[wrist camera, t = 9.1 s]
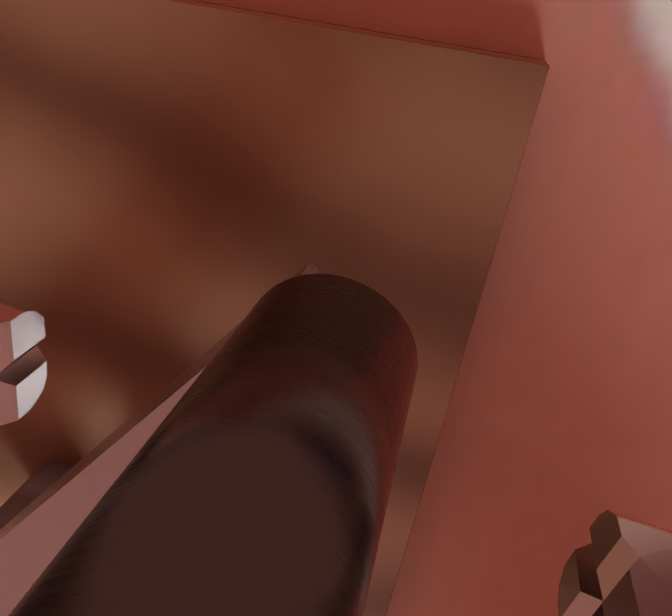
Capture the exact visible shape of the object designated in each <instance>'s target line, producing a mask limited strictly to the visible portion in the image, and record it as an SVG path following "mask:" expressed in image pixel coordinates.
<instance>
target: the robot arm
mask: <svg viewBox="0 0 672 616" xmlns="http://www.w3.org/2000/svg"><path fill="white" fill-rule="evenodd" d="M45 337H46V335H45V325H44V317H43V316H41V315H40V314H39V313H38V312H36V311H35V310H32V309H29V308H27V307H24V306H21V305H19V304H16V303H13V302H11V301H8V300H5V299H3V298H0V426H1V425H4V424H7V423H11V422H14V421H17V420H19V419H20V418H21V417H22V416H23V415H25V414H26V413H27V412H28V411H29V410H30V409H31V408H32V407H33V406H34V404H35V402H36V401H37V399H38V397H39V396H40V394H41V392H42V391H43V389H44V385H45V381H46V377H47V361H46V359H45V358H44V356H43V354H42V353H41V351H40V350H39V348H38V347H37V345H38V344H39V343H40V342H41V341H42V340H43V339H44V338H45ZM590 533H591V539H592V544H589V545H586V546H583V547H580V548H578V549H575V550H574V552H573V553H572V555H571V557H570V558H569V560H568V561H567V563H566V565H565V567H564V570H563V574H562V577H561V581H560V584H559V594H558V610H559V616H672V531H669V530H666V529H663V528H660V527H657V526H654V525H651V524H648V523H645V522H642V521H639V520H636V519H634V518H631V517H628V516H625V515H622V514H619V513H616V512H613V511H610V510H607V511H605V512H603V513H602V514H600V515H599V516H598V517H597V519H596V520H595V521H594V523H593V524H592V526H591V527H590Z"/></svg>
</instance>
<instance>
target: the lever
mask: <svg viewBox="0 0 672 616" xmlns="http://www.w3.org/2000/svg"><path fill="white" fill-rule="evenodd" d="M417 367H418V355H417V348H416V344H415V341H414V337H413V335H412V333H411V330H410V328H409V326H408V324H407V323H406V321H405V320H404V318H403V316H402V315H401V314H400V313H399V311H398V310H397V309H396V308H395V307H394V306H393V305H392V304H391V303H390V302H389V301H388V300H387V299H386V298H385V297H383V296H382V295H380V294H379V293H378V292H376V291H375V290H373V289H371V288H370V287H368V286H366V285H364V284H362V283H360V282H357V281H355V280H352V279H349V278H346V277H342V276H337V275H331V274H321V273H320V272H319V271H318V270H317V268H316V267H315V266H314V265H313V264H312V263H311V262H310V263H308V264H307V265H306V266H305V267H304V268H303V269H301V270H300V271H299V272H298V273H297V274H296V275H295V276H293V277H292V278H290V279H287V280H285V281H283V282H281V283H279V284H277V285H275V286H274V287H272V288H271V289H270V290H268V291H267V292H266V293H265V294H264V295H263V296H262V297H261V298H260V299H259V301H258V302H257V303H256V305H255V306H254V307H253V308H252V310H251V311H250V312H249V313H248V315H247V316H246V317H245V318H244V320H242V321H241V322H240V323H239V324H238V325H237V326H235V327H234V328H233V329H232V330H231V331H230V332H228V333H227V334H226V335H225V336H224V337H223V338H222V339H220V340H219V341H218V342H217V343H216V344H215V345H213V346H212V347H211V348H210V349H209V350H208V351H206V352H205V353H204V354H203V355H202V356H201V357H199V358H198V359H197V360H196V361H195V362H194V363H193V364H191V365H190V366H189V367H188V368H187V369H186V370H184V371H183V372H182V373H181V374H180V375H179V376H177V377H176V378H175V379H174V380H173V381H172V382H171V383H169V384H168V385H167V386H166V387H165V388H164V389H162V390H161V391H160V392H159V393H158V394H157V395H155V396H154V397H153V398H152V399H151V400H150V401H149V402H147V403H146V404H145V405H144V406H143V407H142V408H140V409H139V410H138V411H137V412H136V413H135V414H133V415H132V416H131V417H130V418H129V419H128V420H126V421H125V422H124V423H123V424H122V425H121V426H120V427H118V428H117V429H116V430H115V431H114V432H113V433H111V434H110V435H109V436H108V437H107V438H106V439H104V440H103V441H102V442H101V443H100V444H99V445H98V446H96V447H95V448H94V449H93V450H92V451H91V452H89V453H88V454H87V455H86V456H85V457H84V458H82V459H81V460H80V461H79V462H78V463H77V464H75V465H74V466H73V467H72V468H71V469H70V470H69V471H67V472H66V473H65V474H64V475H63V476H62V477H60V478H59V479H58V480H57V481H56V482H55V483H53V484H52V485H51V486H50V487H49V488H48V489H47V490H45V491H44V492H43V493H42V494H41V495H40V496H38V497H37V498H36V499H35V500H34V501H33V502H31V503H30V504H29V505H28V506H27V507H26V508H24V509H23V510H22V511H21V512H20V513H19V514H18V515H16V516H15V517H14V518H13V519H12V520H11V521H9V522H8V523H7V524H6V525H5V526H4V527H2V528H1V529H0V616H363V612H364V608H365V603H366V599H367V594H368V590H369V585H370V581H371V576H372V572H373V567H374V563H375V558H376V554H377V549H378V545H379V540H380V536H381V532H382V527H383V523H384V518H385V514H386V509H387V505H388V500H389V496H390V491H391V487H392V482H393V478H394V473H395V469H396V464H397V460H398V455H399V451H400V446H401V442H402V437H403V433H404V428H405V424H406V419H407V415H408V410H409V406H410V401H411V397H412V392H413V388H414V383H415V379H416V373H417Z"/></svg>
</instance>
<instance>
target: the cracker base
mask: <svg viewBox="0 0 672 616" xmlns="http://www.w3.org/2000/svg"><path fill="white" fill-rule="evenodd" d="M548 69H549V65H548V64H547V62H546V61H544V60H538V59H532V58H526V57H520V56H515V55H509V54H503V53H497V52H491V51H485V50H479V49H474V48H468V47H462V46H456V45H450V44H444V43H438V42H433V41H427V40H421V39H415V38H409V37H403V36H397V35H392V34H386V33H380V32H374V31H368V30H362V29H356V28H351V27H345V26H339V25H333V24H327V23H321V22H316V21H310V20H304V19H298V18H292V17H286V16H280V15H275V14H269V13H263V12H257V11H251V10H245V9H239V8H234V7H228V6H222V5H216V4H210V3H204V2H198V1H193V0H0V298H3V299H5V300H8V301H11V302H13V303H16V304H19V305H21V306H24V307H27V308H29V309H32V310H35V311H36V312H38V313H39V314H40V315H41V316H43V317H44V325H45V335H46V337H45V338H44V339H43V340H42V341H41V342H40V343H39V344H38V345H37V347H38V348H39V350H40V351H41V353H42V354H43V356H44V358H45V359H46V361H47V377H46V381H45V385H44V389H43V391H42V392H41V394H40V396H39V397H38V399H37V401H36V402H35V404H34V406H33V407H32V408H31V409H30V410H29V411H28V412H27V413H26V414H25V415H23V416H22V417H21V418H20V419H19V420H17V421H14V422H11V423H7V424H4V425H1V426H0V529H1V528H2V527H4V526H5V525H6V524H7V523H8V522H9V521H11V520H12V519H13V518H14V517H15V516H16V515H18V514H19V513H20V512H21V511H22V510H23V509H24V508H26V507H27V506H28V505H29V504H30V503H31V502H33V501H34V500H35V499H36V498H37V497H38V496H40V495H41V494H42V493H43V492H44V491H45V490H47V489H48V488H49V487H50V486H51V485H52V484H53V483H55V482H56V481H57V480H58V479H59V478H60V477H62V476H63V475H64V474H65V473H66V472H67V471H69V470H70V469H71V468H72V467H73V466H74V465H75V464H77V463H78V462H79V461H80V460H81V459H82V458H84V457H85V456H86V455H87V454H88V453H89V452H91V451H92V450H93V449H94V448H95V447H96V446H98V445H99V444H100V443H101V442H102V441H103V440H104V439H106V438H107V437H108V436H109V435H110V434H111V433H113V432H114V431H115V430H116V429H117V428H118V427H120V426H121V425H122V424H123V423H124V422H125V421H126V420H128V419H129V418H130V417H131V416H132V415H133V414H135V413H136V412H137V411H138V410H139V409H140V408H142V407H143V406H144V405H145V404H146V403H147V402H149V401H150V400H151V399H152V398H153V397H154V396H155V395H157V394H158V393H159V392H160V391H161V390H162V389H164V388H165V387H166V386H167V385H168V384H169V383H171V382H172V381H173V380H174V379H175V378H176V377H177V376H179V375H180V374H181V373H182V372H183V371H184V370H186V369H187V368H188V367H189V366H190V365H191V364H193V363H194V362H195V361H196V360H197V359H198V358H199V357H201V356H202V355H203V354H204V353H205V352H206V351H208V350H209V349H210V348H211V347H212V346H213V345H215V344H216V343H217V342H218V341H219V340H220V339H222V338H223V337H224V336H225V335H226V334H227V333H228V332H230V331H231V330H232V329H233V328H234V327H235V326H237V325H238V324H239V323H240V322H241V321H242V320H244V318H245V317H246V316H247V315H248V313H249V312H250V311H251V310H252V308H253V307H254V306H255V305H256V303H257V302H258V301H259V299H260V298H261V297H262V296H263V295H264V294H265V293H266V292H267V291H268V290H270V289H271V288H272V287H274V286H275V285H277V284H279V283H281V282H283V281H285V280H287V279H290V278H292V277H293V276H295V275H296V274H297V273H298V272H299V271H300V270H301V269H303V268H304V267H305V266H306V265H307V264H308V263H310V262H311V263H312V264H313V265H314V266H315V267H316V268H317V270H318V271H319V272H320V273H321V274H331V275H337V276H342V277H346V278H349V279H352V280H355V281H357V282H360V283H362V284H364V285H366V286H368V287H370V288H371V289H373V290H375V291H376V292H378V293H379V294H380V295H382V296H383V297H385V298H386V299H387V300H388V301H389V302H390V303H391V304H392V305H393V306H394V307H395V308H396V309H397V310H398V311H399V313H400V314H401V315H402V316H403V318H404V320H405V321H406V323H407V324H408V326H409V328H410V330H411V333H412V335H413V337H414V341H415V344H416V348H417V355H418V367H417V373H416V379H415V383H414V388H413V392H412V397H411V401H410V406H409V410H408V415H407V419H406V424H405V428H404V433H403V437H402V442H401V446H400V451H399V455H398V460H397V464H396V469H395V473H394V478H393V482H392V487H391V491H390V496H389V500H388V505H387V509H386V514H385V518H384V523H383V527H382V532H381V536H380V540H379V545H378V549H377V554H376V558H375V563H374V567H373V572H372V576H371V581H370V585H369V590H368V594H367V599H366V603H365V608H364V612H363V616H386V613H387V609H388V606H389V603H390V599H391V596H392V593H393V589H394V586H395V583H396V579H397V576H398V572H399V569H400V566H401V562H402V559H403V556H404V552H405V549H406V546H407V542H408V539H409V536H410V532H411V529H412V525H413V522H414V519H415V515H416V512H417V509H418V505H419V502H420V499H421V495H422V492H423V489H424V485H425V482H426V478H427V475H428V472H429V468H430V465H431V462H432V458H433V455H434V452H435V448H436V445H437V442H438V438H439V435H440V431H441V428H442V425H443V421H444V418H445V415H446V411H447V408H448V405H449V401H450V398H451V395H452V391H453V388H454V384H455V381H456V378H457V374H458V371H459V368H460V364H461V361H462V358H463V354H464V351H465V348H466V344H467V341H468V337H469V334H470V331H471V327H472V324H473V321H474V317H475V314H476V311H477V307H478V304H479V301H480V297H481V294H482V290H483V287H484V284H485V280H486V277H487V274H488V270H489V267H490V264H491V260H492V257H493V253H494V250H495V247H496V243H497V240H498V237H499V233H500V230H501V227H502V223H503V220H504V217H505V213H506V210H507V206H508V203H509V200H510V196H511V193H512V190H513V186H514V183H515V180H516V176H517V173H518V170H519V166H520V163H521V159H522V156H523V153H524V149H525V146H526V143H527V139H528V136H529V133H530V129H531V126H532V123H533V119H534V116H535V112H536V109H537V106H538V102H539V99H540V96H541V92H542V89H543V86H544V82H545V79H546V76H547V72H548Z"/></svg>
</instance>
